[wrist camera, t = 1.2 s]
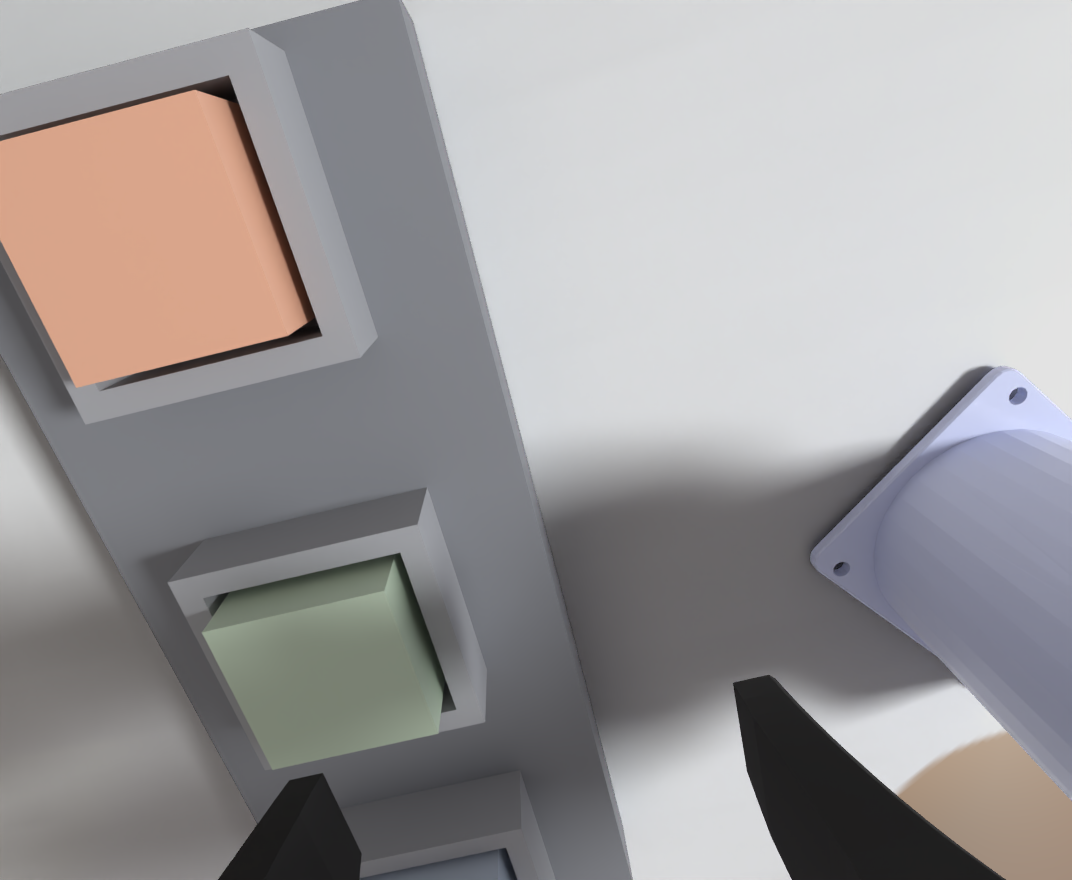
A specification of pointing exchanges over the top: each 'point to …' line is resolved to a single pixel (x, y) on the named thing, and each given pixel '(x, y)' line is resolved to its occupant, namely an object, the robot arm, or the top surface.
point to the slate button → (458, 869)
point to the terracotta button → (149, 237)
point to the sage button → (330, 661)
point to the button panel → (343, 451)
